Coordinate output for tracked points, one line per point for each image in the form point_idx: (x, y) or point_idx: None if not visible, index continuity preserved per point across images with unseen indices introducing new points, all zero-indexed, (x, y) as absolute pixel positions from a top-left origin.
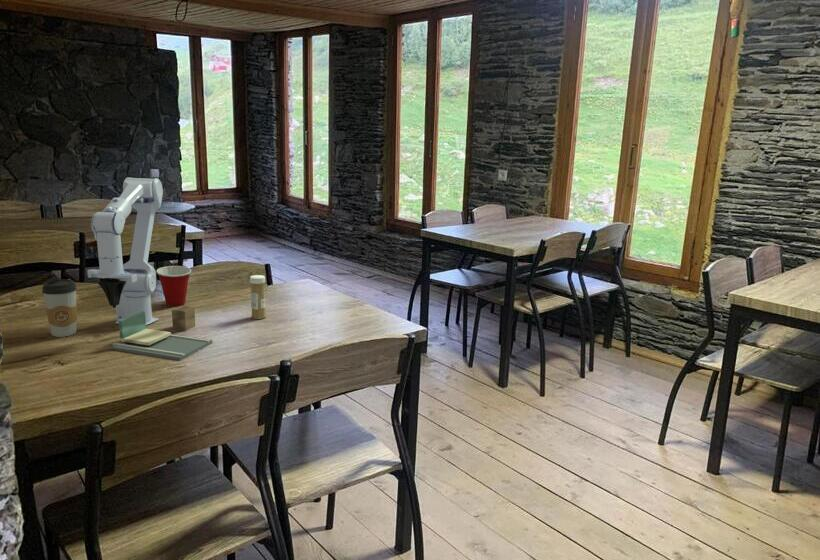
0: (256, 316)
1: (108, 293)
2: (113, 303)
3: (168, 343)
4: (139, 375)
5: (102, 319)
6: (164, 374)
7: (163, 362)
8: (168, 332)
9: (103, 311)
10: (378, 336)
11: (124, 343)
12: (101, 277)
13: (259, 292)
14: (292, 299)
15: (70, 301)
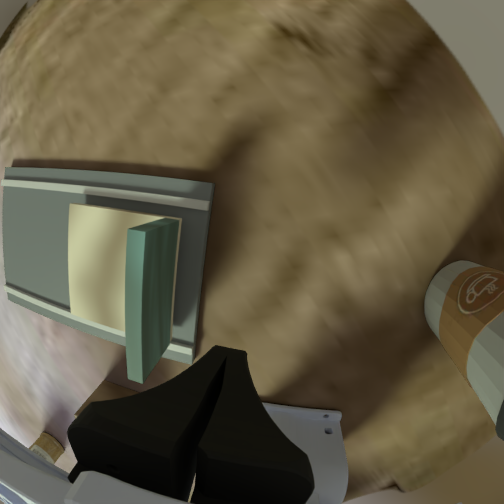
0: (44, 436)
1: (221, 395)
2: (209, 352)
3: (60, 256)
4: (51, 55)
5: (393, 426)
6: (16, 86)
7: (31, 140)
8: (74, 310)
9: (409, 460)
10: None
11: None
12: (127, 493)
13: None
14: None
15: (492, 349)
